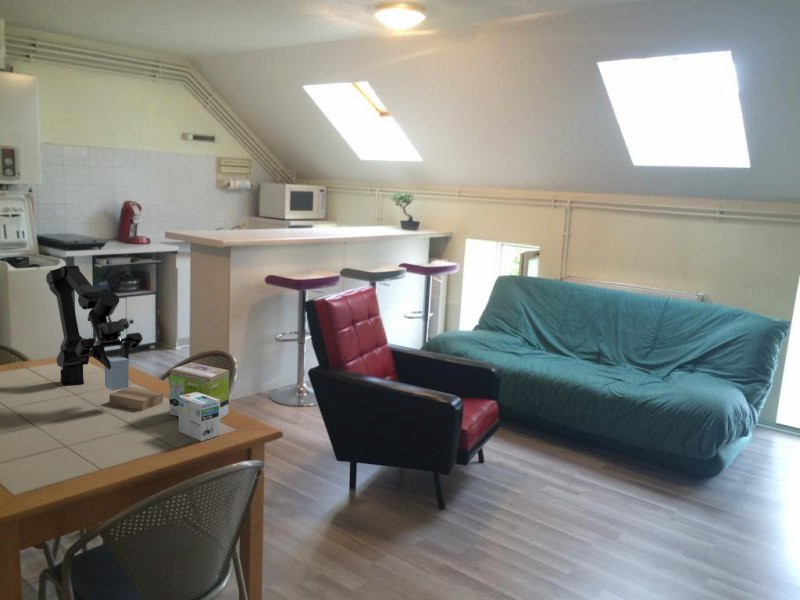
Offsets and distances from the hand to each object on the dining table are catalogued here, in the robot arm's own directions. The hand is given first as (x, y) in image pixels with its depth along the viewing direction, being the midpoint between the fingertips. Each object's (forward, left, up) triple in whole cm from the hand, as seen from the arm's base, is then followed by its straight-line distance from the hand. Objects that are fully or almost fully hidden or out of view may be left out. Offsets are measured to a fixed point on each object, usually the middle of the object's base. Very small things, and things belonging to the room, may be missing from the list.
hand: (118, 367), depth 200 cm
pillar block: (0, -1, -7) cm, 7 cm away
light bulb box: (-18, +27, -14) cm, 36 cm away
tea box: (-22, +12, -14) cm, 28 cm away
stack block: (-6, -5, -14) cm, 16 cm away
